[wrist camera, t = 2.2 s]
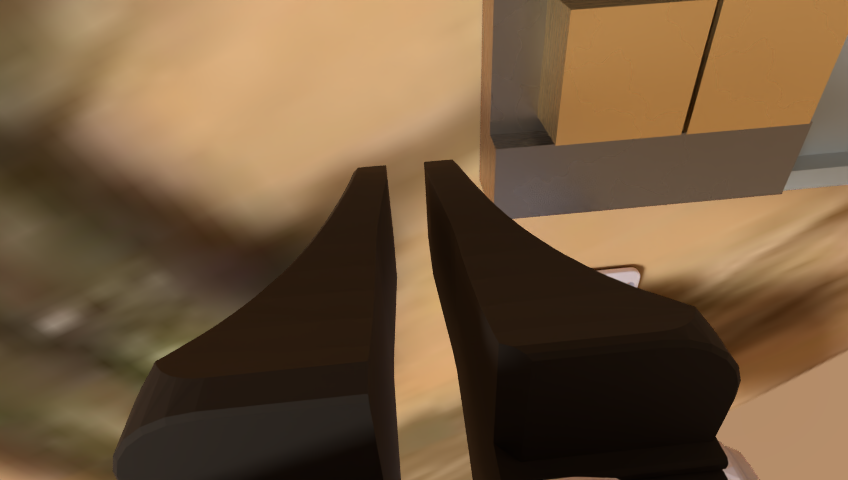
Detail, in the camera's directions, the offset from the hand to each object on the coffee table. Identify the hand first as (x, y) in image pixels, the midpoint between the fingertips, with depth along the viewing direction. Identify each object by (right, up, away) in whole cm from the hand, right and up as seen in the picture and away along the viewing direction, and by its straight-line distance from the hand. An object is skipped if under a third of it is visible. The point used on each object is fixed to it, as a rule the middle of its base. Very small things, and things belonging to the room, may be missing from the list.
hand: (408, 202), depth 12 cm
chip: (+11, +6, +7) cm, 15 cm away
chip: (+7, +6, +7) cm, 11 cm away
